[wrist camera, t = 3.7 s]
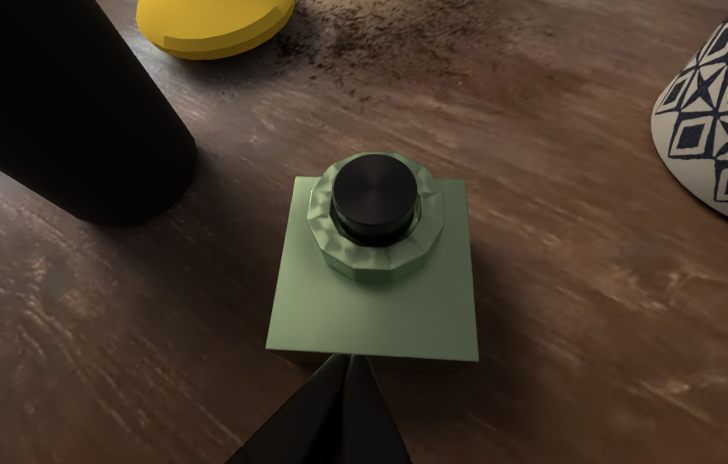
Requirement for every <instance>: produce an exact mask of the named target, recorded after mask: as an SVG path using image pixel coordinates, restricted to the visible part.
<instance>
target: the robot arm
mask: <svg viewBox="0 0 728 464" xmlns="http://www.w3.org/2000/svg"><path fill="white" fill-rule="evenodd" d="M224 464H413V463H412V461H410V456H409V454H408V451H407V449H406V447H405V444H404V442H403V440H402V437H401V435H400V432H399V430H398V428H397V425H396V423H395V421H394V418H393V416H392V413H391V411H390V409H389V406H388V404H387V401H386V399H385V397H384V394H383V392H382V390H381V387H380V385H379V382H378V380H377V378H376V375H375V373H374V371H373V368H372V366H371V363H370V361H369V359H368V357H367V356H366V355H358V354H353V355H351V356H350V355H349V354H340V353H335V354H333V355H332V356H331V357H330V358H329V359H328V360H327V361H326V362H325V363H324V364H323V365H322V366H321V367H320V368H319V369H318V370H317V371H316V372H315V373H314V374H313V375H312V376H311V377H310V378H309V379H308V380H307V381H306V382H305V383H304V384H303V385H302V386H301V387H300V388H299V389H298V390H297V391H296V392H295V393H294V394H293V395H292V396H291V397H290V398H289V399H288V400H287V401H286V402H285V403H284V404H283V405H282V406H281V407H280V408H279V409H278V410H277V411H276V412H275V413H274V414H273V415H272V416H271V417H270V418H269V419H268V420H267V421H266V422H265V423H264V424H263V425H262V426H261V427H260V428H259V429H258V430H257V431H256V432H255V433H254V434H253V435H252V436H251V437H250V438H249V439H248V440H247V441H246V442H245V443H244V445H243V447H240V448H239V449H238V450H237V451H236V452H235V453H234V454H233V455H232V456H231V457H230V458H229V459H228V460H227V461H226V462H225V463H224Z"/></svg>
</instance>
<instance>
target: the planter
mask: <svg viewBox="0 0 728 464" xmlns="http://www.w3.org/2000/svg"><path fill="white" fill-rule="evenodd" d="M651 132H652V136H653V140H654V144H655V146H656V148H657V151H658V153H659V155H660V157H661V158H662V160H663V161H664V163H665V164H666V166H667V167H668V169H669V170H670V171H671V173H672V174H673V175H674V176H675V177H676V178H677V179H678V181H679V182H680V183H681V184H682V185H683V186H685V187H686V188H687V189H688V190H689V191H690V192H691V193H693V194H694V195H695V196H696V197H698V198H699V199H700V200H702V201H703V202H705V203H706V204H707V205H709V206H710V207H712V208H713V209H715V210H717V211H719V212H720V213H722V214H724V215H726V216H728V17H727V18H726V19H725V20H724V21H723V22H722V24H721V25H720V26H719V27H718V28H717V29H716V31H715V32H714V33H713V34H712V35H711V36H710V38H709V39H708V40H707V41H706V42H705V43H704V45H703V46H702V47H701V48H700V49H699V50H698V52H697V53H696V54H695V55H694V56H693V57H692V59H691V60H690V61H689V62H688V63H687V64H686V66H685V67H684V68H683V69H682V70H681V71H680V73H679V74H678V75H677V76H676V77H675V78H674V80H673V81H672V82H671V83H670V84H669V86H668V87H667V88H666V89H665V90H664V91H663V93H662V94H661V95H660V96H659V98H658V100H657V102H656V103H655V105H654V108H653V112H652V116H651Z"/></svg>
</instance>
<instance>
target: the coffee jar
mask: <svg viewBox="0 0 728 464" xmlns="http://www.w3.org/2000/svg"><path fill="white" fill-rule="evenodd" d="M196 160H197V157H196V148H195V140H194V138H193V137H192V135H191V133H190V132H189V130H188V129H187V127H186V126H185V124H184V123H183V122H182V120H181V119H180V117H179V116H178V115H177V113H176V112H175V110H174V109H173V108H172V106H171V105H170V103H169V102H168V101H167V99H166V98H165V96H164V95H163V94H162V92H161V91H160V89H159V88H158V87H157V85H156V84H155V83H154V81H153V80H152V78H151V77H150V76H149V74H148V73H147V71H146V70H145V69H144V67H143V66H142V64H141V63H140V62H139V60H138V59H137V57H136V56H135V55H134V53H133V52H132V50H131V49H130V48H129V46H128V45H127V43H126V42H125V41H124V39H123V38H122V37H121V35H120V34H119V32H118V31H117V30H116V28H115V27H114V25H113V24H112V23H111V21H110V20H109V18H108V17H107V16H106V14H105V13H104V11H103V10H102V9H101V7H100V6H99V4H98V3H97V2H96V0H0V171H1V172H3V173H5V174H6V175H8V176H10V177H11V178H13V179H14V180H16V181H18V182H19V183H21V184H23V185H24V186H26V187H27V188H29V189H31V190H32V191H34V192H36V193H37V194H39V195H40V196H42V197H44V198H45V199H47V200H49V201H50V202H52V203H54V204H55V205H57V206H58V207H60V208H62V209H63V210H65V211H67V212H68V213H70V214H71V215H73V216H75V217H76V218H78V219H81V220H84V221H87V222H90V223H93V224H96V225H125V224H133V223H137V222H140V221H144V220H147V219H150V218H152V217H154V216H156V215H157V214H159V213H161V212H163V211H165V210H166V209H168V208H169V207H170V206H171V205H172V204H173V203H174V202H176V201H177V200H178V199H179V198H180V197H181V196H182V195H183V193H184V192H185V190H186V189H187V187H188V186H189V184H190V183H191V181H192V177H193V174H194V170H195V167H196Z"/></svg>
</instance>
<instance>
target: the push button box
mask: <svg viewBox="0 0 728 464" xmlns="http://www.w3.org/2000/svg"><path fill="white" fill-rule="evenodd" d="M368 154H383V155H388V156H391V157H394V158H396V159H398V160H400V161H401V162H403V163H404V164H405V165H406V166H407V167H408V168H409V169H410V170H411V171H412V173H413V175H414V177H415V179H416V183H417V198H416V206H415V214H414V218H413V221H412V223H411V225H410V227H409V228H408V229H407V230H406V231H405V232H404V233H403V234H402V235H401V236H400V237H398V238H396V239H395V240H392V241H390V242H386V243H382V244H368V243H363V242H360V241H358V240H356V239H354V238H352V237H351V236H349V235H348V234H347V233H346V232H345V231H344V230H343V228H342V227H341V225H340V223H339V221H338V217H337V213H336V210H335V206H334V202H333V199H332V185H333V181H334V178H335V177H336V175H337V173H338V172H339V170H340V169H341V168H342V167H343V166H344V165H345V164H346V163H348V162H349V161H351V160H353V159H355V158H357V157H360V156H363V155H368ZM265 349H266V350H268V351H270V352H272V353H274V354H276V355H278V356H280V357H282V358H284V359H286V360H288V361H291V362H293V363H298V364H315V365H323V364H324V363H325V362H326V361H327V360H328V359H329V358H330V357H331V356H332V355H333V354H335V353H340V354H349V355H350V356H351V355H353V354H358V355H366V356H367V357H368V359H369V361H370V363H371V366H372V368H380V369H397V370H413V371H430V372H446V373H458V372H460V371H462V370H464V369H466V368H468V367H469V366H471V365H473V364H475V363H477V362H479V353H478V340H477V327H476V313H475V300H474V287H473V273H472V260H471V246H470V233H469V220H468V206H467V193H466V180H465V179H434V178H433V176H432V175H431V174H430V172H429V171H428V170H427V168H426V167H425V166H424V165H422V164H419V163H417V162H415V161H413V160H411V159H409V158H407V157H405V156H403V155H400V154H398V153H396V152H360V153H358V154H355V155H353V156H351V157H348V158H346V159H344V160H342V161H339V162H337V163H335V164H332V165H331V166H330V167H329V168H328V170H327V171H326V172H325V173H324V174H323V176H322V177H303V176H296V178H295V184H294V190H293V195H292V201H291V207H290V212H289V218H288V223H287V229H286V235H285V240H284V246H283V251H282V257H281V263H280V268H279V274H278V280H277V285H276V291H275V296H274V302H273V308H272V313H271V319H270V324H269V330H268V336H267V341H266V347H265Z"/></svg>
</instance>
